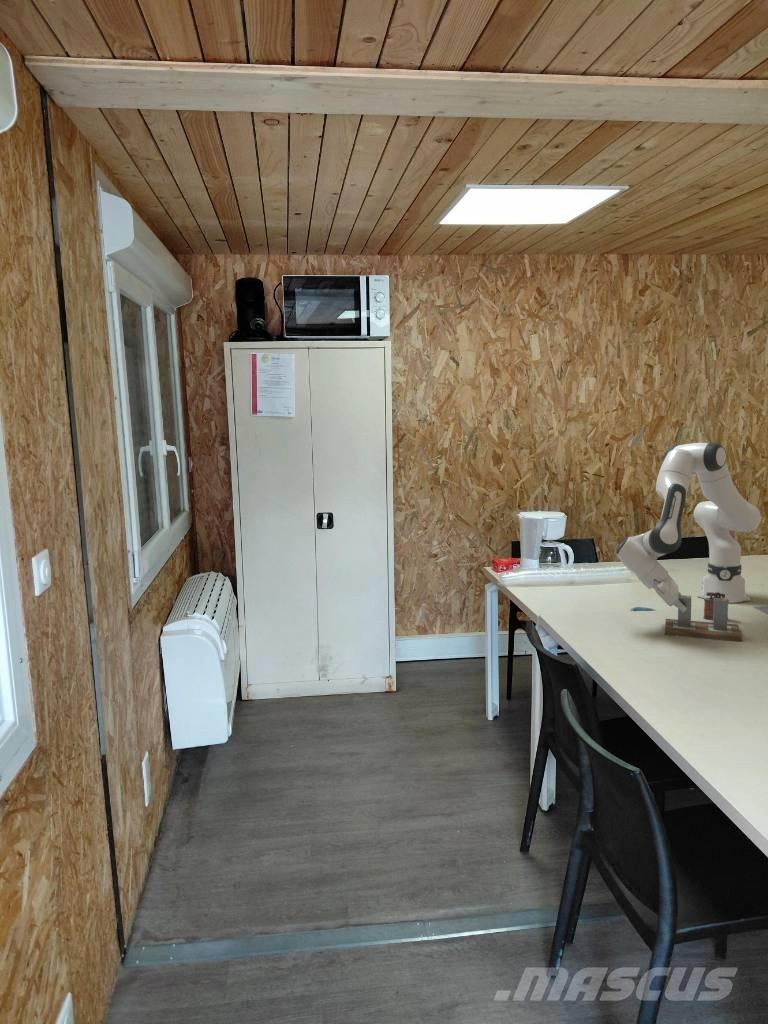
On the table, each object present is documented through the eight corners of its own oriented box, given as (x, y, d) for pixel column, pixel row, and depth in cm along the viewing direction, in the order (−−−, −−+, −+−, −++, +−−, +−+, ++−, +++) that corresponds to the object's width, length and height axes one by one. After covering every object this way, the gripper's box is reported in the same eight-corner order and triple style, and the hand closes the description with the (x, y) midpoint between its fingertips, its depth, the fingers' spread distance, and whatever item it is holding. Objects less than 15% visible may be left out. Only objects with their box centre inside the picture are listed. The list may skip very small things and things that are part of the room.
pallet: (665, 622, 236) (665, 618, 236) (738, 628, 227) (738, 623, 227) (664, 634, 224) (664, 629, 224) (741, 641, 214) (741, 636, 214)
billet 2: (712, 626, 226) (713, 597, 224) (726, 627, 224) (727, 597, 223) (713, 629, 222) (714, 600, 221) (726, 630, 220) (727, 601, 219)
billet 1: (677, 622, 230) (678, 594, 229) (690, 623, 229) (691, 595, 227) (677, 626, 227) (678, 597, 225) (690, 627, 225) (691, 598, 224)
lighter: (726, 618, 239) (727, 591, 238) (729, 620, 236) (730, 593, 235) (702, 617, 241) (703, 590, 240) (704, 619, 238) (705, 592, 237)
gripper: (661, 578, 219) (692, 609, 216) (662, 565, 237) (692, 593, 234) (646, 590, 221) (677, 621, 218) (649, 576, 239) (677, 604, 237)
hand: (685, 606), depth 226 cm, fingers open, 8 cm apart
